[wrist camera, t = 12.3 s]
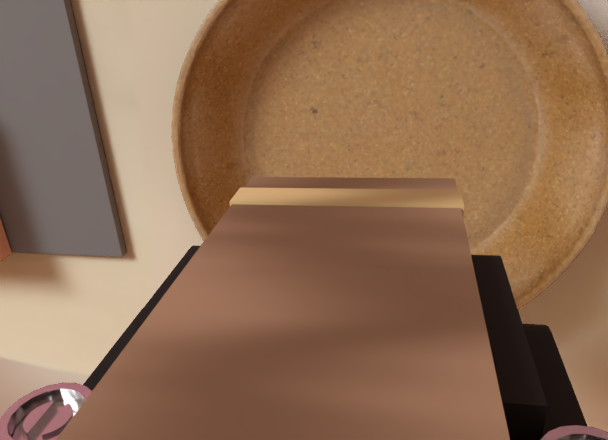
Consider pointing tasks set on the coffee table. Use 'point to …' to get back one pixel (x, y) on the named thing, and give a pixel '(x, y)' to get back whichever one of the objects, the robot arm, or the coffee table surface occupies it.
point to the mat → (51, 138)
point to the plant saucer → (408, 112)
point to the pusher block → (313, 325)
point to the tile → (3, 243)
